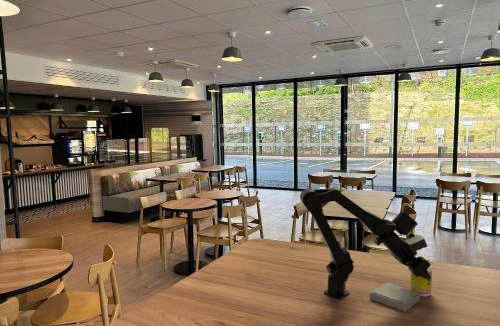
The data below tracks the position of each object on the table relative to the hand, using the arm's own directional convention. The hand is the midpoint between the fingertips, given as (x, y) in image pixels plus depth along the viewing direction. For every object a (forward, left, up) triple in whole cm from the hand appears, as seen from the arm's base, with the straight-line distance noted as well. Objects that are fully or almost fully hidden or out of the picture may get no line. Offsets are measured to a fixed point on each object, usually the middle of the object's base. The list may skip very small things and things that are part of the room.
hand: (425, 274), depth 126 cm
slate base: (-12, +5, -7) cm, 15 cm away
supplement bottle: (-1, +1, -7) cm, 7 cm away
